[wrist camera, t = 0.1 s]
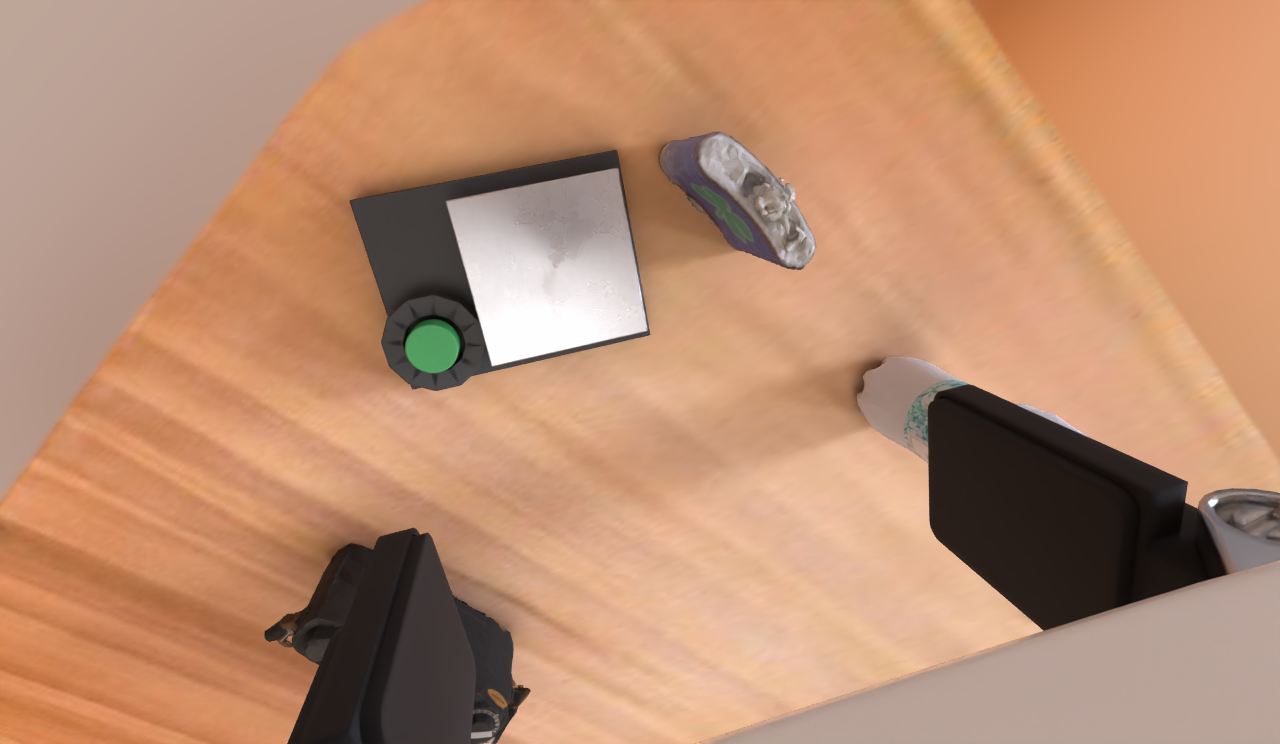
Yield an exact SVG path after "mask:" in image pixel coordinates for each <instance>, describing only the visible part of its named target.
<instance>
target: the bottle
mask: <svg viewBox="0 0 1280 744" xmlns="http://www.w3.org/2000/svg"><path fill="white" fill-rule="evenodd" d="M863 379H864V382H865V386H864V390H863V392H860V393H858V394H857V403H858V406H859V407H860V409H861V411H862V412H863V414H864V416H865V418H866V420H867V422H868V423H869V424H870V426H871V427H872V428H874V429H875V430H876V431H878V432H879V433H881V434H882V435H884V436H885V437H887V438H888V439H890V440H892V441H894V442H896V443H897V444H899V445H901V446H903V447H905V448H906V449H908V450H910V451H911V452H913V453H914V454H916V455H917V456H919V457H920V458H921V459H923V460H924V461H926V462H927V463H929V462H928V406H929V403H930V402H932V401H933V400H934V397H935V395H936V394H937V393H938V392H939V391H943V390H947V389H951V388H955V387H958V386H962V385H967V384H968V383H965V382H963V381H961V380H959V379H957V378H955V377H953V376H952V375H950V374H948V373H946V372H945V371H943V370H941V369H940V368H938V367H936V366H934V365H932V364H930V363H928V362H926V361H924V360H920V359H917V358H912V357H902V356H890V357H887V358H885V359H883V361H882V365H881V366H880V367H878V368H876V369H872V370H867V371H866V373H865V374H864V375H863ZM1016 405H1018V406H1020V407H1022V408H1024V409H1027V410H1029V411H1031V412H1033V413H1036V414H1038V415H1040V416H1042V417H1044V418H1047V419H1049V420H1051V421H1053V422H1056V423H1058V424H1060V425H1062V426H1064V427H1067V428H1069V429H1071V430H1073V431H1076V432H1078V433H1080V434H1082V435H1084V436H1087V435H1085V434H1084V433H1082V432H1080V431H1079V430H1077V429H1076V428H1074V427H1072V426H1071V425H1069V424H1068V423H1066V422H1065V421H1063V420H1062V419H1061V418H1059V417H1058V416H1056V415H1054V414H1052V413H1049V412H1044V411H1041V410H1039V409H1037V408H1035V407H1033V406H1029V405H1025V404H1016ZM1087 437H1088V436H1087ZM1089 438H1090V437H1089ZM1091 439H1092V438H1091Z"/></svg>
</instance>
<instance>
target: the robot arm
mask: <svg viewBox="0 0 1280 744" xmlns="http://www.w3.org/2000/svg"><path fill="white" fill-rule="evenodd" d="M928 462H929V517H930V526H931V529H932V531H933V533H934V535H935V537H936V538H937V539H938V540H939V541H940V542H941V543H942V544H943V545H944V546H945V547H947V548H948V549H949V550H950V551H951V552H952V553H954V554H955V555H956V556H957V557H958V558H960V559H961V560H962V561H963V562H964V563H965V564H967V565H968V566H969V567H970V568H971V569H972V570H974V571H975V572H976V573H977V574H978V575H979V576H981V577H982V578H983V579H984V580H985V581H986V582H988V583H989V584H990V585H991V586H992V587H993V588H995V589H996V590H997V591H998V592H999V593H1000V594H1002V595H1003V596H1004V597H1005V598H1006V599H1007V600H1009V601H1010V602H1011V603H1012V604H1013V605H1014V606H1016V607H1017V608H1018V609H1019V610H1020V611H1021V612H1023V613H1024V614H1025V615H1026V616H1027V617H1028V618H1030V619H1031V620H1032V621H1033V622H1034V623H1035V624H1037V625H1038V626H1039V627H1040V628H1041V629H1042V630H1044V631H1042V632H1039V633H1036V634H1033V635H1029V636H1026V637H1023V638H1020V639H1017V640H1014V641H1010V642H1007V643H1004V644H1001V645H998V646H995V647H991V648H988V649H985V650H982V651H979V652H976V653H972V654H969V655H966V656H963V657H960V658H957V659H954V660H951V661H948V662H944V663H941V664H938V665H935V666H932V667H929V668H926V669H923V670H920V671H916V672H913V673H910V674H907V675H904V676H901V677H898V678H895V679H891V680H888V681H885V682H882V683H879V684H876V685H873V686H870V687H867V688H864V689H861V690H857V691H854V692H851V693H848V694H845V695H842V696H839V697H836V698H833V699H830V700H827V701H823V702H820V703H817V704H814V705H811V706H808V707H805V708H802V709H799V710H796V711H793V712H789V713H786V714H783V715H780V716H777V717H774V718H771V719H768V720H765V721H762V722H759V723H756V724H753V725H750V726H747V727H744V728H741V729H738V730H735V731H732V732H729V733H726V734H722V735H719V736H716V737H713V738H710V739H707V740H704V741H701V742H698V743H695V744H1280V493H1277V492H1271V491H1264V490H1257V489H1225V490H1217V491H1214V492H1212V493H1209V494H1207V495H1204V497H1203V498H1202V499H1201V500H1200V501H1199V506H1198V509H1197V508H1195V507H1193V506H1191V505H1189V504H1187V503H1185V498H1186V491H1187V485H1188V482H1187V481H1184V480H1182V479H1180V478H1178V477H1176V476H1173V475H1171V474H1169V473H1167V472H1164V471H1162V470H1160V469H1158V468H1156V467H1153V466H1151V465H1149V464H1147V463H1144V462H1142V461H1140V460H1138V459H1136V458H1133V457H1131V456H1129V455H1127V454H1124V453H1122V452H1120V451H1118V450H1116V449H1113V448H1111V447H1109V446H1107V445H1104V444H1102V443H1100V442H1098V441H1096V440H1093V439H1091V438H1089V437H1087V436H1084V435H1082V434H1080V433H1078V432H1076V431H1073V430H1071V429H1069V428H1067V427H1064V426H1062V425H1060V424H1058V423H1056V422H1053V421H1051V420H1049V419H1047V418H1044V417H1042V416H1040V415H1038V414H1036V413H1033V412H1031V411H1029V410H1027V409H1024V408H1022V407H1020V406H1018V405H1016V404H1013V403H1011V402H1009V401H1007V400H1005V399H1002V398H1000V397H998V396H996V395H993V394H991V393H989V392H987V391H985V390H982V389H980V388H978V387H976V386H973V385H970V384H967V385H962V386H958V387H955V388H951V389H947V390H943V391H939V392H938V393H937V394H936V395H935V397H934V400H933V401H932V402H930V403H929V406H928ZM475 683H476V667H475V660H474V656H473V652H472V649H471V647H470V644H469V641H468V638H467V635H466V632H465V630H464V627H463V624H462V621H461V618H460V615H459V613H458V610H457V607H456V604H455V601H454V598H453V596H452V593H451V590H450V587H449V584H448V581H447V579H446V576H445V573H444V570H443V567H442V564H441V562H440V559H439V556H438V553H437V550H436V548H435V545H434V542H433V539H432V537H431V535H430V534H429V533H425V534H421V535H420V534H419V532H418V531H417V529H415V528H411V529H407V530H403V531H399V532H395V533H392V534H388V535H384V536H381V537H379V538H378V540H377V542H376V545H375V547H374V550H373V552H372V555H371V558H370V560H369V563H368V565H367V568H366V570H365V573H364V575H363V578H362V581H361V583H360V586H359V588H358V591H357V593H356V596H355V599H354V601H353V604H352V606H351V609H350V611H349V614H348V617H347V619H346V622H345V624H344V627H343V628H341V629H338V630H337V631H335V632H334V634H333V635H332V637H331V639H330V641H329V643H328V645H327V648H326V650H325V653H324V655H323V658H322V660H321V663H320V665H319V667H318V670H317V672H316V675H315V677H314V680H313V682H312V685H311V687H310V690H309V692H308V694H307V697H306V699H305V702H304V704H303V707H302V709H301V712H300V714H299V716H298V719H297V721H296V724H295V726H294V729H293V731H292V734H291V736H290V738H289V741H288V743H287V744H470V743H471V731H472V719H473V707H474V695H475Z"/></svg>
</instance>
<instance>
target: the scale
mask: <svg viewBox="0 0 1280 744" xmlns="http://www.w3.org/2000/svg"><path fill="white" fill-rule="evenodd" d="M613 168H618V169H619V174H620V180H621V185H622V191H623V196H624V202H625V207H626V213H627V218H628V224H629V229H630V235H631V240H632V246H633V251H634V257H635V262H636V268H637V273H638V279H639V284H640V290H641V295H642V301H643V306H644V312H645V317H646V323H647V328H648V330H647V331H646V332H641V333H637V334H633V335H628V336H624V337H619V338H615V339H611V340H606V341H602V342H598V343H593V344H589V345H584V346H580V347H576V348H571V349H567V350H563V351H558V352H554V353H550V354H545V355H541V356H536V357H532V358H528V359H523V360H519V361H515V362H510V363H506V364H502V365H497V366H491V363H490V360H489V356H488V353H487V349H486V345H485V342H484V338H483V335H482V331H481V328H480V324H479V320H478V317H477V313H476V310H475V306H474V303H473V299H472V295H471V292H470V288H469V285H468V281H467V278H466V274H465V270H464V267H463V263H462V260H461V256H460V253H459V249H458V245H457V242H456V238H455V235H454V231H453V228H452V224H451V220H450V217H449V213H448V210H447V206H446V201H447V200H452V199H457V198H462V197H467V196H473V195H478V194H483V193H488V192H493V191H499V190H504V189H509V188H514V187H519V186H525V185H530V184H535V183H540V182H545V181H551V180H556V179H561V178H566V177H571V176H577V175H582V174H587V173H592V172H597V171H603V170H608V169H613ZM350 204H351V207H352V210H353V213H354V216H355V219H356V222H357V225H358V228H359V231H360V234H361V237H362V240H363V243H364V246H365V249H366V252H367V255H368V258H369V261H370V264H371V267H372V270H373V273H374V276H375V279H376V282H377V285H378V288H379V291H380V294H381V297H382V300H383V303H384V306H385V309H386V312H387V315H388V318H387V321H386V325H385V329H384V333H383V337H382V341H381V342H382V343H381V344H382V347H383V350H384V352H385V355H386V358H387V361H388V364H389V366H390V368H391V369H392V370H394V371H395V372H396V373H397V374H398V375H399V376H400V377H402V378H403V379H404V380H405V381H406V382H407V383H408V384H410V385H411V387H412V389H418V388H426V389H430V390H434V391H435V390H436V391H438V390H443V389H447V388H451V387H455V386H460V385H462V384H463V383H464V382H465V381H466V380H467V379H468V378H470V377H471V376H474V375H478V374H483V373H487V372H492V371H496V370H500V369H505V368H509V367H513V366H518V365H522V364H526V363H531V362H535V361H539V360H544V359H548V358H552V357H557V356H561V355H565V354H570V353H574V352H578V351H583V350H587V349H592V348H596V347H600V346H605V345H609V344H613V343H618V342H622V341H626V340H631V339H635V338H639V337H644V336H648V335H650V330H649V324H648V319H647V313H646V308H645V302H644V297H643V291H642V286H641V280H640V275H639V269H638V263H637V258H636V252H635V247H634V241H633V236H632V230H631V225H630V219H629V214H628V208H627V203H626V197H625V191H624V186H623V180H622V175H621V169H620V164H619V158H618V153H617V150H613V151H608V152H603V153H598V154H592V155H587V156H582V157H576V158H571V159H566V160H560V161H555V162H550V163H545V164H539V165H534V166H529V167H523V168H518V169H513V170H507V171H502V172H497V173H491V174H486V175H481V176H476V177H470V178H465V179H460V180H454V181H449V182H444V183H438V184H433V185H428V186H423V187H417V188H412V189H407V190H401V191H396V192H391V193H385V194H380V195H375V196H369V197H364V198H359V199H354V200H350ZM430 319H437V320H442V321H444V322H446V323H448V324H450V325H451V326H452V327H453V328H454V329H455V330H456V332H457V333H458V335H459V338H460V350H459V353H458V356H457V359H456V361H455V362H454V364H453V365H452V366H451V367H450V368H448V369H447V370H445V371H443V372H439V373H427V372H423V371H421V370H419V369H417V368H416V367H414V366H413V365H412V364H411V363H410V361H409V360H408V358H407V356H406V352H405V343H406V340H407V338H408V336H409V334H410V333H411V331H412V330H413V329H414V327H415V326H416V325H418V324H419V323H421V322H423V321H425V320H430Z"/></svg>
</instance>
